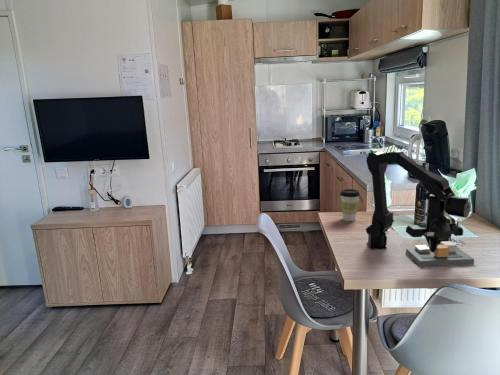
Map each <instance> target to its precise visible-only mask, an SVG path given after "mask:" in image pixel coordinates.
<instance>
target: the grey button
mask: <svg viewBox="0 0 500 375" xmlns="http://www.w3.org/2000/svg"><path fill="white" fill-rule="evenodd" d="M414 248H415V250H416V251H417V252H418V253H419V254H421V253H430V248H429V246H427V245H426V244H420V245H419V244H417V245H415V246H414Z"/></svg>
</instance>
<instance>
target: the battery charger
mask: <svg viewBox="0 0 500 375" xmlns="http://www.w3.org/2000/svg"><path fill="white" fill-rule="evenodd" d="M444 216H446V221H447V223H450V224H452V223H456V220H455V218H453V217H452V216H450V215H446V214H444ZM443 241H451V242H453V241H452V236H451V237H450V238H444V239H442V240H441V241H440V242H443ZM440 242H439V243H440Z"/></svg>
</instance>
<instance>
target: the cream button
mask: <svg viewBox="0 0 500 375" xmlns="http://www.w3.org/2000/svg"><path fill="white" fill-rule="evenodd" d="M451 241H452V240H451ZM451 241H443V242H439V245H446V246H447V247H448V248H449V252H456V247H457V244H455V243H454V242H453V241H452V242H451Z"/></svg>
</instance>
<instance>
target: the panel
mask: <svg viewBox="0 0 500 375" xmlns="http://www.w3.org/2000/svg"><path fill="white" fill-rule="evenodd" d="M405 254H406V255H407V256H408V257H409V258H410V259H412V260H413V261H414V262H415V263H416V264H417V265H418V266H419V267H429V266H430V267H431V266H432V267H433V266H435V267H436V266H454V265H455V266H459V265H461V266H462V265H474V263H475V258H473V257H472V256H470V255H469V254H467V253H466V252H465V251H463V250H462V249H461V248H459V247H457V246H456V252H449V254H448V257H437V256H435V255H434V252H431V251H430V253H421V254H419V253H418V252H417V251H416V250H415V247H412V248H411V247H410V248H406V250H405Z"/></svg>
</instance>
